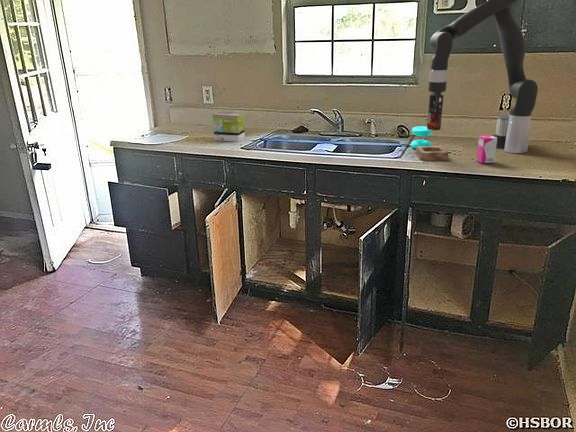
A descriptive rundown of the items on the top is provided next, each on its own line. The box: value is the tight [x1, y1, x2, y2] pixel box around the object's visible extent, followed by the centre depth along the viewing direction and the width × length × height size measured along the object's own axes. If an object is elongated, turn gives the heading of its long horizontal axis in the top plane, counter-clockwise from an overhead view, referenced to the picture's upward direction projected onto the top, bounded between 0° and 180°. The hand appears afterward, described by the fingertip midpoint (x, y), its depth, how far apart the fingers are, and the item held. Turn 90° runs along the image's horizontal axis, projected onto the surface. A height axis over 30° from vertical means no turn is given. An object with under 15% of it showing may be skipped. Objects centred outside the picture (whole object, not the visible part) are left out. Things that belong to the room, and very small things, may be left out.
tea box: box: [212, 111, 246, 143], centre depth 265 cm, size 15×10×15 cm, turn 73°
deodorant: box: [426, 94, 444, 131], centre depth 213 cm, size 6×6×15 cm
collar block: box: [415, 145, 449, 161], centre depth 220 cm, size 12×12×4 cm
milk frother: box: [490, 115, 509, 150], centre depth 235 cm, size 14×16×15 cm
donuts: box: [410, 126, 434, 150], centre depth 236 cm, size 10×10×10 cm
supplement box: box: [476, 135, 497, 165], centre depth 207 cm, size 6×6×12 cm
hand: (434, 118), depth 214 cm, fingers closed on deodorant, 6 cm apart
